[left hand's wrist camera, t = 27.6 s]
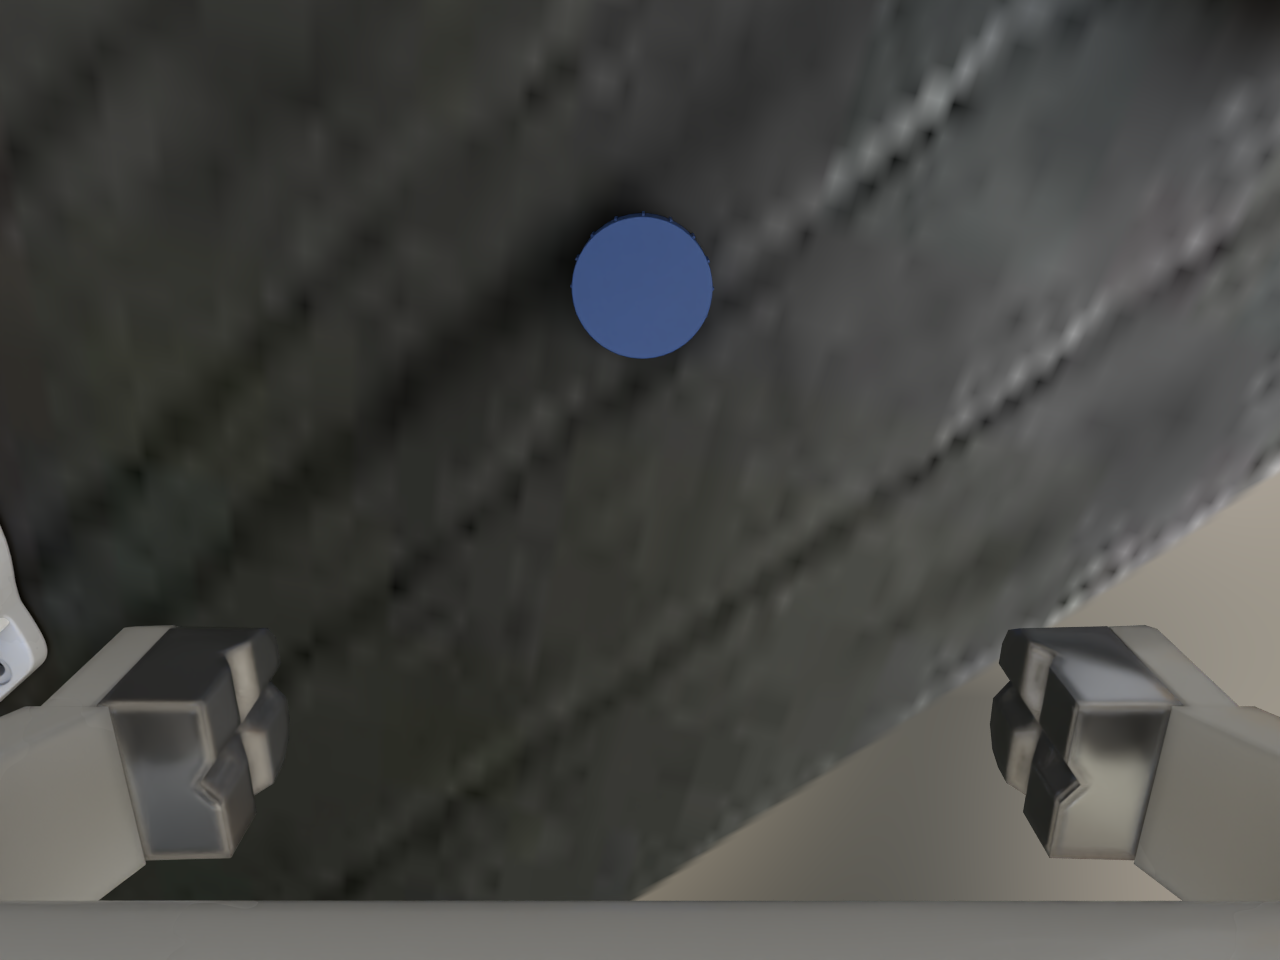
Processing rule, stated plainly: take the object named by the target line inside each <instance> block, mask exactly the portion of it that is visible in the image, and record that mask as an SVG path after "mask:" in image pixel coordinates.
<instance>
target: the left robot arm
mask: <svg viewBox="0 0 1280 960" xmlns="http://www.w3.org/2000/svg"><path fill="white" fill-rule="evenodd" d="M46 657H47V645H46V642H45V640H44V637H43V635H42V633H41V631H40V630H39V628H38V626H37V624H36V623H35V621H34V620H33V618H32V617H31V615H30V613H29V612H28V610H27V609H26V607H25V606H24V604H23V603H22V601H21V599H20V596H19V594H18V590H17V586H16V582H15V576H14V570H13V565H12V559H11V555H10V551H9V547H8V544H7V541H6V538H5V536H4V533H3V531H2V528H1V526H0V663H1V664H2V665H3V666H4V667H3V666H1V665H0V702H1V701H2V700H3V699H4V698H5V697H6V696H7V695H8V694H10V693H11V692H12V691H13V690H14V689H15V688H16V687H17V686H18V685H20V684H21V683H22V682H23V681H24V680H25V679H26V678H27V677H28V676H30V675H31V674H32V673H33V672H34V671H35V670H36V669H37V668H38V667H39V666H41V665H42V663H43V662H44V661H45V659H46ZM280 664H281V660H280V655H279V650H278V645H277V640H276V637H275V636H274V634H273V633H272V632H271V631H270V630H269V629H268V628H244V627H191V626H180V627H177V626H174V625H168V626H135V627H127V628H124V629H123V630H121V631H120V632H119V633H118V634H117V635H116V636H115V637H114V638H113V639H112V640H111V641H110V642H109V643H108V644H107V645H106V646H104V647H103V648H102V649H101V650H100V651H99V652H98V653H97V654H96V655H95V656H94V657H93V658H92V659H91V660H90V661H88V662H87V663H86V664H85V665H84V666H83V667H82V668H81V669H80V670H79V671H78V672H77V673H76V674H75V675H74V676H73V677H71V678H70V679H69V680H68V681H67V682H66V683H65V684H64V685H63V686H62V687H61V688H60V689H59V690H58V691H57V692H56V693H54V694H53V695H52V696H51V697H50V698H49V699H48V700H47V701H46V702H45V703H44V704H43V705H42V706H30V707H23V708H21V709H18V710H16V711H14V712H11V713H9V714H6V715H4V716H2V717H0V960H1280V717H1278V716H1276V715H1274V714H1271V713H1269V712H1266V711H1264V710H1262V709H1259V708H1257V707H1250V706H1238V705H1237V704H1236V703H1235V702H1234V701H1233V700H1232V699H1231V698H1230V697H1229V696H1228V695H1227V694H1226V693H1225V692H1223V691H1222V690H1221V689H1220V688H1219V687H1218V686H1217V685H1216V684H1215V683H1214V682H1213V681H1212V680H1211V679H1210V678H1209V677H1208V676H1207V675H1205V674H1204V673H1203V672H1202V671H1201V670H1200V669H1199V668H1198V667H1197V666H1196V665H1195V664H1194V663H1193V662H1192V661H1191V660H1190V659H1189V658H1187V657H1186V656H1185V655H1184V654H1183V653H1182V652H1181V651H1180V650H1179V649H1178V648H1177V647H1176V646H1175V645H1174V644H1173V643H1172V642H1171V641H1169V640H1168V639H1167V638H1166V637H1165V636H1164V635H1163V634H1162V633H1161V632H1160V631H1159V630H1158V629H1156V628H1152V627H1149V626H1146V625H1137V626H1114V627H1107V626H1101V627H1059V628H1019V629H1012V630H1008V632H1007V634H1006V637H1005V639H1004V641H1003V643H1002V648H1001V654H1000V660H999V664H1000V666H1001V667H1002V669H1003V670H1004V672H1005V674H1006V675H1007V677H1008V678H1009V680H1010V681H1009V682H1008V683H1007V684H1006V685H1005V686H1004V687H1003V689H1002V690H1001V691H1000V692H999V693H998V694H997V695H996V696H995V697H994V698H993V704H992V713H991V721H990V729H991V739H992V749H993V753H994V756H995V759H996V762H997V765H998V768H999V770H1000V771H1001V773H1002V775H1003V777H1004V779H1005V781H1006V783H1007V784H1009V785H1011V786H1012V787H1014V788H1015V789H1017V790H1019V791H1020V792H1022V793H1023V794H1025V795H1026V798H1025V804H1024V810H1023V813H1024V814H1025V816H1026V818H1027V820H1028V821H1029V823H1030V825H1031V827H1032V828H1033V830H1034V832H1035V833H1036V835H1037V837H1038V839H1039V840H1040V842H1041V844H1042V846H1043V847H1044V849H1045V851H1046V853H1047V854H1048V856H1049V858H1072V859H1109V860H1135V861H1134V864H1135V865H1136V866H1137V867H1139V868H1140V869H1141V870H1143V871H1144V872H1145V873H1147V874H1148V875H1149V876H1151V877H1152V878H1153V879H1155V880H1156V881H1157V882H1158V883H1160V884H1161V885H1162V886H1164V887H1165V888H1166V889H1168V890H1169V891H1170V892H1172V893H1173V894H1174V895H1176V896H1177V897H1178V898H1180V899H1181V900H1182V901H98V900H99V899H101V898H102V897H103V896H105V895H106V894H107V893H109V892H110V891H111V890H113V889H114V888H115V887H117V886H118V885H119V884H121V883H122V882H123V881H125V880H126V879H127V878H129V877H130V876H131V875H132V874H134V873H135V872H136V871H138V870H139V869H140V868H142V867H143V866H144V865H145V864H146V862H145V860H170V859H206V858H231V856H232V854H233V853H234V851H235V849H236V847H237V846H238V844H239V842H240V841H241V839H242V837H243V835H244V834H245V832H246V830H247V828H248V827H249V825H250V823H251V821H252V820H253V818H254V816H255V814H256V813H257V809H256V804H255V798H254V795H255V794H257V793H258V792H260V791H262V790H263V789H265V788H266V787H268V786H269V785H271V784H273V783H274V781H275V779H276V777H277V775H278V773H279V771H280V769H281V768H282V766H283V763H284V759H285V755H286V750H287V746H288V742H289V720H290V717H289V710H288V704H287V698H286V697H285V696H284V695H283V694H282V693H281V692H280V691H279V690H278V689H277V687H276V686H275V685H274V684H273V683H272V682H271V681H270V680H271V678H272V677H273V675H274V674H275V672H276V671H277V669H278V667H279V666H280Z"/></svg>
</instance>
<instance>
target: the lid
mask: <svg viewBox="0 0 1280 960" xmlns="http://www.w3.org/2000/svg"><path fill="white" fill-rule="evenodd" d="M590 236H591V237H590V239H589V240H588V241H587V243H586V244H585V246H584V248H583V250H582V251H581V253H580V255H579V254H578V255H577V257H576V259H575V260H576V261H577V262H576V265H575V268H574V272H573V278H572V283H571V285H570V288H572V297H573V303H574V307H575V311H576V315H577V316H578V318H579V320H580V322H581V324H582V325H583V327H584V328H585V330H586V331H587V332H588V334H589V335H590V336H591V337H592V338H593V339H594V340H595V341H596V342H598V343H599V344H600V345H601V346H603V347H604V348H606V349H608V350H609V351H611V352H614V353H616V354H618V355H622V356H625V357H630V358H640V359H646V358H655V357H659V356H663V355H666V354H668V353H671V352H673V351H675V350H676V349H678V348H680V347H681V346H683V345H684V344H686V343H687V342H688V341H689V340H690V339H691V338H692V337H693V336H694V335H695V334H696V333H697V331H698V330H699V329H700V327H701V326H702V324H703V322H704V321H705V318H706V317H707V316H708V315H707V314H708V311H709V308H710V305H711V299H712V290H714V287H713V285H712V276H711V271H710V267H709V264H708V263H709V262H710V261H709V259H708V257H707V256H706V257H705V255H704V253H703V251H702V249H701V247H700V245H699V244H698V242H697V241H696V239H695V238H696V237H695V235H694V234H693V233H691V234H690V233H689V232H688V231H687V230H686V229H685V228H684V227H682V226H681V225H679V224H678V223H676V222H675V221H673V220H672V218H671V217H669V219H668V218H666V217H663V216H660V215H655V214H649V213H645V211H642V213H636V214H629V215H625V216H621V217H619V218H618V217H617V216H615V218H614V220H612V221H610V222H608V223H607V224H605V225H604V226H602V227H601V228H600V229H598V230H597V231H596V232H594V231H593V232H592V234H591V235H590Z"/></svg>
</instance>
